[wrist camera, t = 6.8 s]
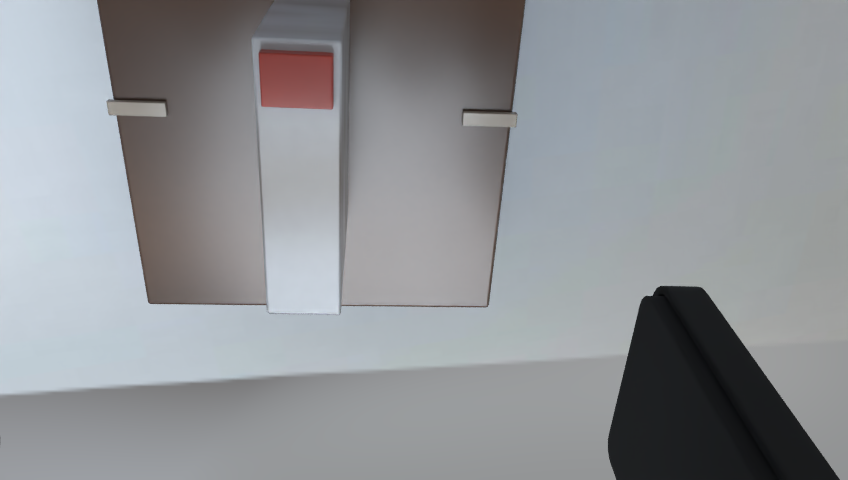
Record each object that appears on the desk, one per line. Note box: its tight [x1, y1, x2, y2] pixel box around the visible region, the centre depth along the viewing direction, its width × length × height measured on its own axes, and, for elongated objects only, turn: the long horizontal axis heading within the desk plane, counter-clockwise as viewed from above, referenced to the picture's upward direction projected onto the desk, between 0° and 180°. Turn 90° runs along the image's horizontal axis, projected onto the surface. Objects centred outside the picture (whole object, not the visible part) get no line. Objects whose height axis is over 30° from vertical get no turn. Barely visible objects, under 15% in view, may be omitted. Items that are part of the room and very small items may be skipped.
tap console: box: [97, 0, 526, 307], centre depth 19 cm, size 12×10×3 cm
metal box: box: [251, 0, 350, 315], centre depth 16 cm, size 6×2×5 cm, turn 176°
